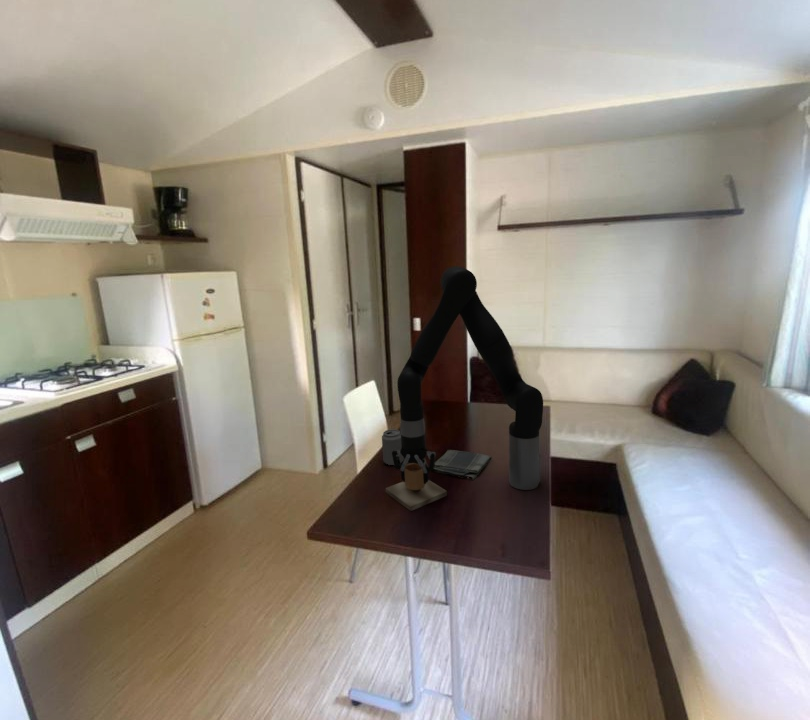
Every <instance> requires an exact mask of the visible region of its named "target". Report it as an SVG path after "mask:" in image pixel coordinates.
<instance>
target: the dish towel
mask: <svg viewBox="0 0 810 720" xmlns="http://www.w3.org/2000/svg"><path fill="white" fill-rule="evenodd" d="M492 459H493V458H492V456H490V455H487V454H482V453H477V452H476V453H475V452H470V451H464V450H463V451H462V450H455V449H447V450H446V452H445V453H444V454H442V456H441V457H440V458H438V459H437V460H435V467H434V469H433V471H432V472H433V473H437V474H441V475H445V476H448V475H447V474H450V475H454V476H455V477H454V478H458V476H460V477H465V478H464V479H467V477H469V478H471V479H472V480H473V481H474V480H475V479H476V478H477V477H478V476H479V474H480V473H481V472H482V471H483V469H484V468H485V467H486V466H488V464H489V463H490V460H491V461H492ZM488 462H489V463H488ZM487 463H488V464H487ZM481 470H482V471H481ZM450 475H449V476H450ZM477 475H478V476H477ZM471 479H470V480H471ZM472 480H471V481H472Z"/></svg>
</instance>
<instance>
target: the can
mask: <svg viewBox="0 0 810 720" xmlns="http://www.w3.org/2000/svg"><path fill="white" fill-rule="evenodd" d="M381 443H382V444H381V445H382V457H383V458H382V460H383V463H384V464H386V465H387V464H388V465H387V466H390V465H394V461H393V456H392V452H393V450H394V449H395V448H396V449H397V450H398V449H401V448H402V447H401V432H400V429H399V430H398V429H395V428H392V429H391V428H390V429H387V430H384V431H383V432H382V435H381ZM399 459H400V464H402V463H403V462H404V457H403V456H402V454H401V453H400V455H399Z"/></svg>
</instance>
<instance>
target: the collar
mask: <svg viewBox="0 0 810 720" xmlns="http://www.w3.org/2000/svg"><path fill="white" fill-rule="evenodd" d="M412 470H418V471H412ZM404 473H405V486H406V487H407V488H408V489H411V490H419V489H421V488H424V486H425V484H424V478H423V473H424V472H423V470H422V468H421V467H420V466H419V464H415V463H408V464H407V465H406V467H405V468H404Z"/></svg>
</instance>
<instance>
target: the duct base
mask: <svg viewBox="0 0 810 720" xmlns="http://www.w3.org/2000/svg"><path fill="white" fill-rule="evenodd" d="M385 493H386V494H387V495H389V496H390V497H391V498H393V499H394V500H395V501H396V502H398V503H399V504H400V505H402V506H403V507H404V508H406V509H407V510H408V511H409V512H412V511H414V510H417V509H419V508H422V507H424V506H426V505H428V504H430V503H433V502H435V501H439V500H440V499H442V498H445V497H447V496H448V491H447V490H446V489H444V488H443V487H441V486H440V485H438V484H436V483H435V482H433V481H431V479H429V480H428V482H427V483H426V484H425V486H424V488H421V490H420V491H419V492H412V491H411V489H408V488H407V487H406V486H405V482H403V481H401V482H398V483H396V484H393V485H390V486H387V487H386V488H385Z"/></svg>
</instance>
